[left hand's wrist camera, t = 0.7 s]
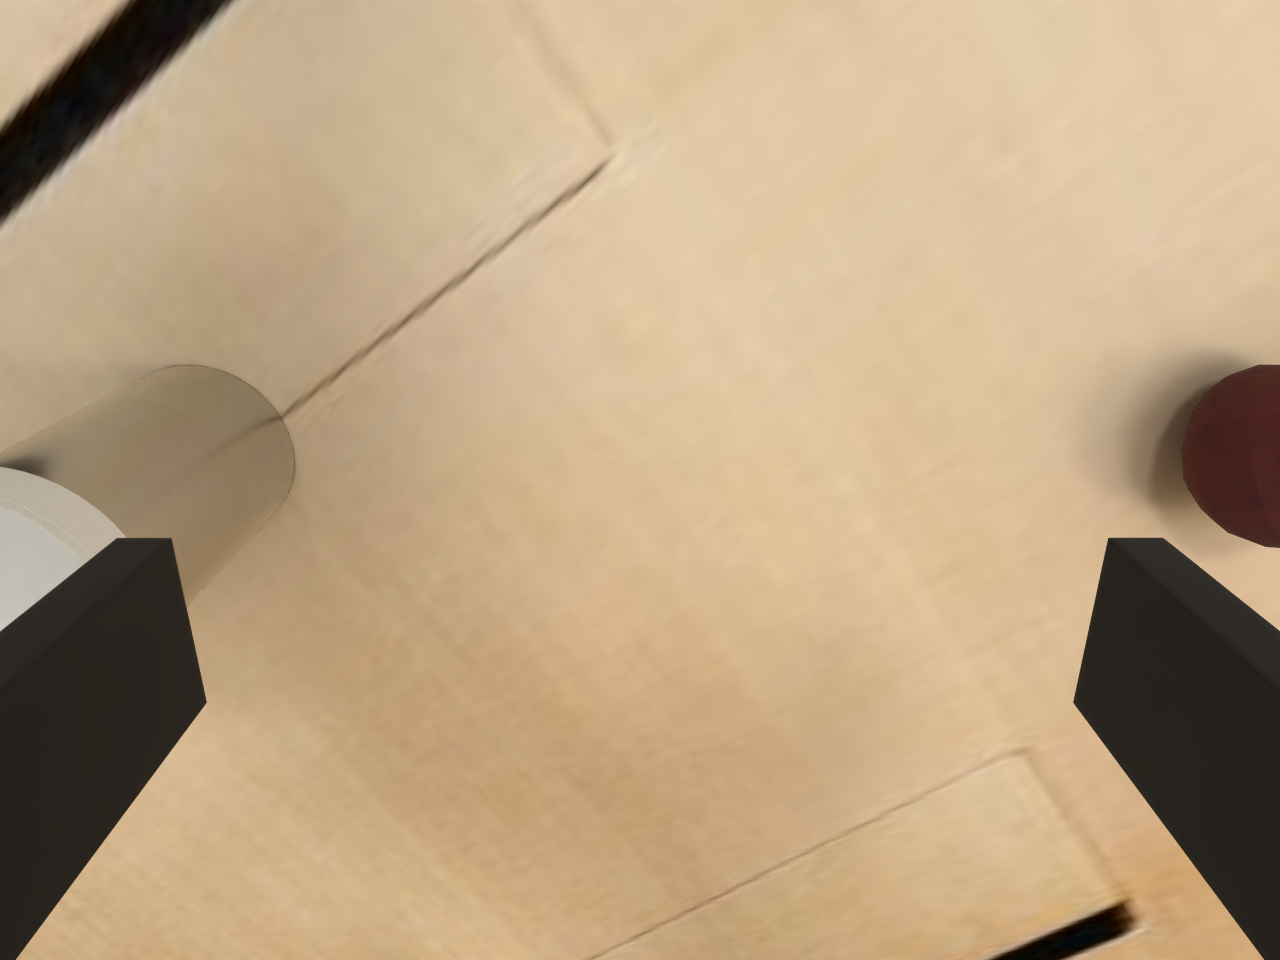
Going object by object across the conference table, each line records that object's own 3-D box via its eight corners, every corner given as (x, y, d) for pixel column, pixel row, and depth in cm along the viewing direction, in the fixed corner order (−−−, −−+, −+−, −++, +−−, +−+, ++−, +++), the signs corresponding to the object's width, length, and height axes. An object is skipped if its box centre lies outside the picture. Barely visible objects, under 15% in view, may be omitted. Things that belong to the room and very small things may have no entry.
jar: (254, 561, 44) (69, 773, 30) (89, 479, 42) (-190, 661, 28) (323, 424, 41) (157, 584, 27) (151, 330, 40) (-122, 449, 25)
